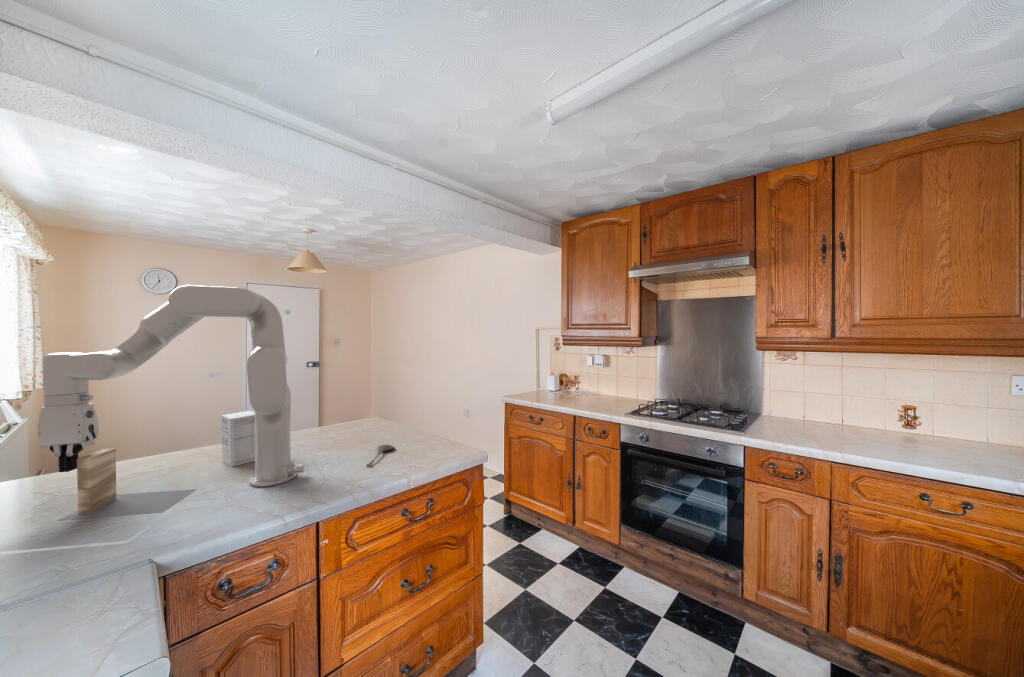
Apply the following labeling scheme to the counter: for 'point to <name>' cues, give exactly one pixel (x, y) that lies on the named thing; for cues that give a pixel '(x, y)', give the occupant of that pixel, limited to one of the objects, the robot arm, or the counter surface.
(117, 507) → the rubber mat
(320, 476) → the counter surface
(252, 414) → the supplement box
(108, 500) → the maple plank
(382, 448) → the soupspoon
